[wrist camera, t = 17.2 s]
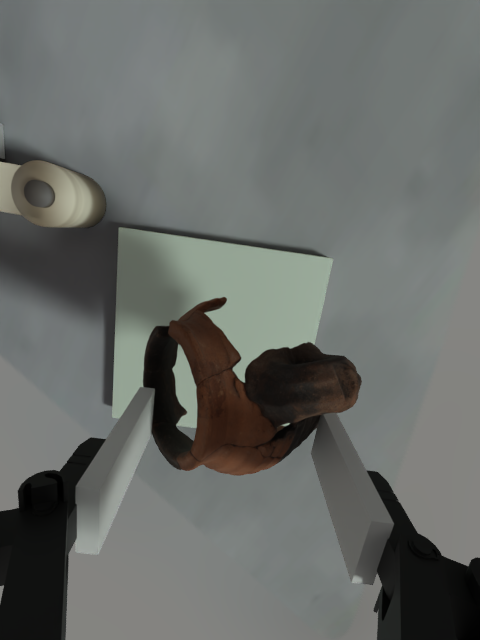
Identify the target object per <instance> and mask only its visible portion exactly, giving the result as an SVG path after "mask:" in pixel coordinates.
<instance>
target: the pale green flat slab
mask: <svg viewBox="0 0 480 640" xmlns="http://www.w3.org/2000/svg"><path fill="white" fill-rule="evenodd" d="M0 159H5V147H4V129H3V124H1V123H0ZM332 263H333V259H332V258H329V257H323V256H316V255H310V254H303V253H296V252H289V251H282V250H275V249H269V248H262V247H255V246H248V245H241V244H234V243H228V242H221V241H214V240H207V239H200V238H194V237H187V236H180V235H173V234H166V233H159V232H153V231H146V230H139V229H132V228H124V227H119V234H118V263H117V291H116V320H115V349H114V377H113V406H112V418H120V417H121V416H122V414H123V413H124V411H125V410H126V408H127V406H128V405H129V403H130V402H131V400H132V399H133V397H134V396H135V394H136V393H137V391H138V390H139V388H140V387H143V371H144V355H145V350H146V345H147V342H148V340H149V336H150V334H151V332H152V331H153V329H154V328H155V327H156V326H169V323H170V322H171V321H172V320H175V321H178V320H179V319H180V317H182V316H183V315H184V314H185V313H187V312H188V311H189V310H191V309H192V308H194V307H195V306H196V305H198V304H200V303H202V302H204V301H209V300H211V299H214V298H222V297H226V298H227V301H226V303H225V305H224V306H223V307H221V308H220V309H217V310H214V311H210V312H206V313H205V314H206V315H207V316H208V317H209V318H210V319H211V320H212V322H213V323H214V324H215V325H216V326H217V327H219V328H220V329H221V330H222V331H223V332H224V334H225V335H226V337H227V339H228V340H229V341H230V342H231V344H232V345H233V346H234V348H235V349H236V350H237V351H238V352H239V354H240V356H241V361H240V362H239V363H237V364H236V366H234V367H233V371H234V372H235V374H236V375H237V377H238V378H239V380H241V381H242V382H245V371H246V368H247V366H248V365H249V364H250V362H251V361H253V360H254V359H256V358H257V357H258V356H259V355H261V354H262V353H263V352H264V351H266V350H268V349H280V348H282V347H289V348H290V349H291V348H293V347H296V346H298V345H300V344H302V343H307V342H311V343H313V344H315V340H316V335H317V331H318V326H319V322H320V317H321V312H322V308H323V303H324V299H325V294H326V290H327V285H328V281H329V276H330V272H331V267H332ZM173 372H174V375H175V382H176V383H175V386H176V396H177V398H178V401H179V403H180V404H181V406H183V407H184V408H185V409H186V411H187V414H186V415H184V416H182V417H181V418H180V420H179V422H178V423H177V425H176V426H184V427H192V428H197V395H196V385H195V382H194V378H193V375H192V373H191V369H190V366H189V363H188V360H187V358H186V356H185V354H184V351H183V349H182V347H181V346H180V345H179V344H178V350H177V360H176V364H175V366H174V367H173ZM289 424H290V423H287V424H284V425H281V426H287V425H289ZM277 428H278V427H277Z"/></svg>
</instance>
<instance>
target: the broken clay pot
mask: <svg viewBox="0 0 480 640" xmlns="http://www.w3.org/2000/svg"><path fill="white" fill-rule="evenodd" d="M226 301H227V298H226V297H222V298H214V299H211V300H209V301H204V302H202V303H200V304H198V305H196V306H195V307H194V308H192V309H191V310H189V311H188V312H187V313H185V314H184V315H183V316H182V317H180V319H179V320H178V321H175V320H172V321H171V322H170V323H169V326H156V327H155V328H154V329H153V331H152V332H151V334H150V336H149V340H148V342H147V345H146V350H145V355H144V371H143V387H146V388H154V389H155V395H154V408H153V421H152V434H153V437H154V439H155V442H156V444H157V446H158V448H159V450H160V452H161V453H162V454H163V456H164V457H165V458H166V460H167V461H168V462H169V463H170V464H171V465H172V466H174V467H175V468H177V469H179V470H181V469H182V470H185V471H190V470H193V469H195V468H196V467H198V466H200V465H205V466H206V467H208V468H210V469H214V470H215V471H217V472H220V473H225V474H231V475H245V474H252V473H256V472H259V471H260V470H265V469H268V468H270V467H272V466H274V465H275V464H277V463H279V462H280V461H282V460H283V459H284V458H285V457H286V456H288V455H289V454H290V453H291V452H292V451H293V450H294V449H295V448H297V447H298V446H299V445H300V444H301V443H302V442H303V441H304V440H305V439H306V438H307V437H308V436H309V435H310V434H311V433H312V432H313V430H314V429H316V428H317V427H318V423H319V419H320V416H321V415H323V414H327V413H340V412H343V411H345V410H348V409H349V408H351V407H352V406H353V405H354V404H355V403H356V401H357V399H358V393H359V389H360V385H361V382H362V381H361V377H360V376H359V374H358V373H357V371H356V367H355V366H354V364H353V363H352V362H351V361H349V360H348V359H347V358H346V357H344V356H338V355H327V354H323V353H322V352H321V351H320V350H319V349H318V348H317V347H316V346H315V345H314V344H313V343H311V342H307V343H302V344H300V345H298V346H296V347H293V348H291V349H290V348H289V347H282V348H280V349H268V350H266V351H264V352H263V353H262V354H261V355H259V356H258V357H257V358H256V359H254V360H253V361H251V362H250V364H249V365H248V366H247V368H246V371H245V382H242V381H241V380H239V378H238V377H237V375H236V374H235V372H234V371H233V367H234V366H236V364H237V363H239V362H240V361H241V356H240V354H239V352H238V351H237V350H236V349H235V348H234V346H233V345H232V344H231V342H230V341H229V340H228V339H227V337H226V335H225V334H224V332H223V331H222V330H221V329H220V328H219V327H217V326H216V325H215V324H214V323H213V322H212V320H211V319H210V318H209V317H208V316H207V315H206V314H205V313H206V312H210V311H214V310H217V309H220V308H221V307H223V306H224V305H225V303H226ZM178 344H179V345H180V346H181V347H182V349H183V351H184V354H185V356H186V358H187V360H188V363H189V366H190V369H191V373H192V375H193V378H194V382H195V385H196V395H197V428H196V434H195V440H194V441H193V440H191V439H190V438H189V437H188V436H186V435H185V434H184V433H182V432H181V431H179V430H178V428H177V427H176V425H177V423H178V422H179V420H180V418H181V417H182V416H184V415H186V414H187V411H186V409H185V408H184V407H183V406H181V404H180V403H179V401H178V398H177V396H176V386H175V383H176V382H175V375H174V372H173V367H174V366H175V364H176V360H177V350H178ZM287 423H290V424H289V425H287V426H281V425H284V424H287ZM277 427H278V428H277Z"/></svg>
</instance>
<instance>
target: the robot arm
mask: <svg viewBox="0 0 480 640" xmlns="http://www.w3.org/2000/svg"><path fill="white" fill-rule="evenodd" d="M154 395H155V389H154V388H146V387H140V388H139V390H138V391H137V393H136V394H135V396H134V397H133V399H132V400H131V402H130V403H129V405H128V406H127V408H126V410H125V411H124V413H123V414H122V416H121V417H120V419H119V420H118V422H117V423H116V425H115V427H114V428H113V430H112V431H111V433H110V434H109V436H108V437H107V439H99V438H89V439H88V440H86V441H85V442H83V443H82V444H80V445H79V446H78V448H77V449H76V450H75V452H74V453H73V455H72V456H71V457H70V458H69V460H68V461H67V463H66V464H65V465H64V466H63V468H62V469H61V470H60V471H56V470H52V471H51V470H50V471H44V472H40V473H37V474H35V475H33V476H31V477H29V478H28V479H27V480H25V481H24V483H22V484H21V486H20V488H19V490H18V499H19V508H17V509H12V510H6V511H0V586H2V585H4V589H3V594H2V598H1V604H0V640H65V635H66V611H67V584H68V554H69V552H70V550H71V548H72V546H73V544H74V542H75V540H76V552H78V553H87V554H97V555H98V554H99V552H100V550H101V547H102V545H103V543H104V540H105V538H106V536H107V533H108V531H109V529H110V527H111V525H112V522H113V520H114V518H115V515H116V513H117V511H118V509H119V507H120V504H121V502H122V500H123V497H124V495H125V493H126V490H127V488H128V486H129V484H130V482H131V479H132V477H133V475H134V473H135V470H136V468H137V466H138V463H139V461H140V459H141V457H142V454H143V452H144V450H145V448H146V445H147V443H148V441H149V439H150V436H151V434H152V421H153V408H154ZM311 455H312V458H313V461H314V465H315V468H316V471H317V474H318V477H319V481H320V484H321V487H322V490H323V493H324V497H325V500H326V503H327V506H328V509H329V512H330V516H331V519H332V522H333V525H334V528H335V532H336V535H337V538H338V541H339V544H340V548H341V551H342V554H343V557H344V560H345V563H346V567H347V570H348V573H349V576H350V579H351V583H360V584H370V585H373V583H374V580H375V577H376V574H377V573H378V575H379V577H380V580H381V583H382V588H381V590H380V593H379V596H378V599H377V601H376V604H375V607H374V612H376V613H377V611H378V608H379V611H378V632H377V640H480V558H474V559H472V560H471V562H470V564H469V566H466V565H463V564H461V563H458V562H456V561H453V560H451V559H448V558H446V557H444V556H442V555H441V553H440V551H439V550H438V549H437V547H436V546H435V545H434V544H433V543H432V542H431V541H430V540H428V539H427V538H425V537H424V536H422V535H420V534H418V533H417V531H416V530H415V528H414V526H413V524H412V523H411V521H410V519H409V518H408V516H407V514H406V513H405V511H404V509H403V507H402V506H401V504H400V503H399V502H398V499H397V497H396V495H395V494H394V493H393V490H392V488H391V487H390V485H389V483H388V482H387V481H386V480H385V479H384V478H383V477H382V476H381V475H380V474H379V473H378V472H375V471H366V469H365V467H364V465H363V463H362V461H361V459H360V458H359V456H358V454H357V452H356V450H355V448H354V446H353V444H352V442H351V440H350V438H349V436H348V435H347V433H346V431H345V429H344V427H343V425H342V423H341V421H340V419H339V417H338V415H337V414H336V413H327V414H323V415H321V416H320V419H319V423H318V427H317V431H316V435H315V439H314V444H313V448H312V452H311Z"/></svg>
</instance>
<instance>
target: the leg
mask: <svg viewBox="0 0 480 640" xmlns="http://www.w3.org/2000/svg"><path fill="white" fill-rule="evenodd" d="M0 211H1V212H7V213H12V214H18V215H23V216H24V217H25V218H26V219H27V220H28V221H30V222H32V223H33V224H36V225H38V226H42V227H69V228H88V227H92V226H94V225H96V224H97V223H99V222H100V221H101V219H102V218H103V216H104V214H105V211H106V199H105V195H104V192H103V190H102V189H101V187H100V186H99V185H98V183H97V182H95V181H94V180H93V179H92V178H90V177H88V176H85V175H82V174H80V173H77V172H74V171H71V170H68V169H65V168H63V167H60V166H57V165H54V164H51V163H49V162H45V161H40V160H34V161H29V162H26V163H25V164H23V165H15V164H10V163H4V162H0Z"/></svg>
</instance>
